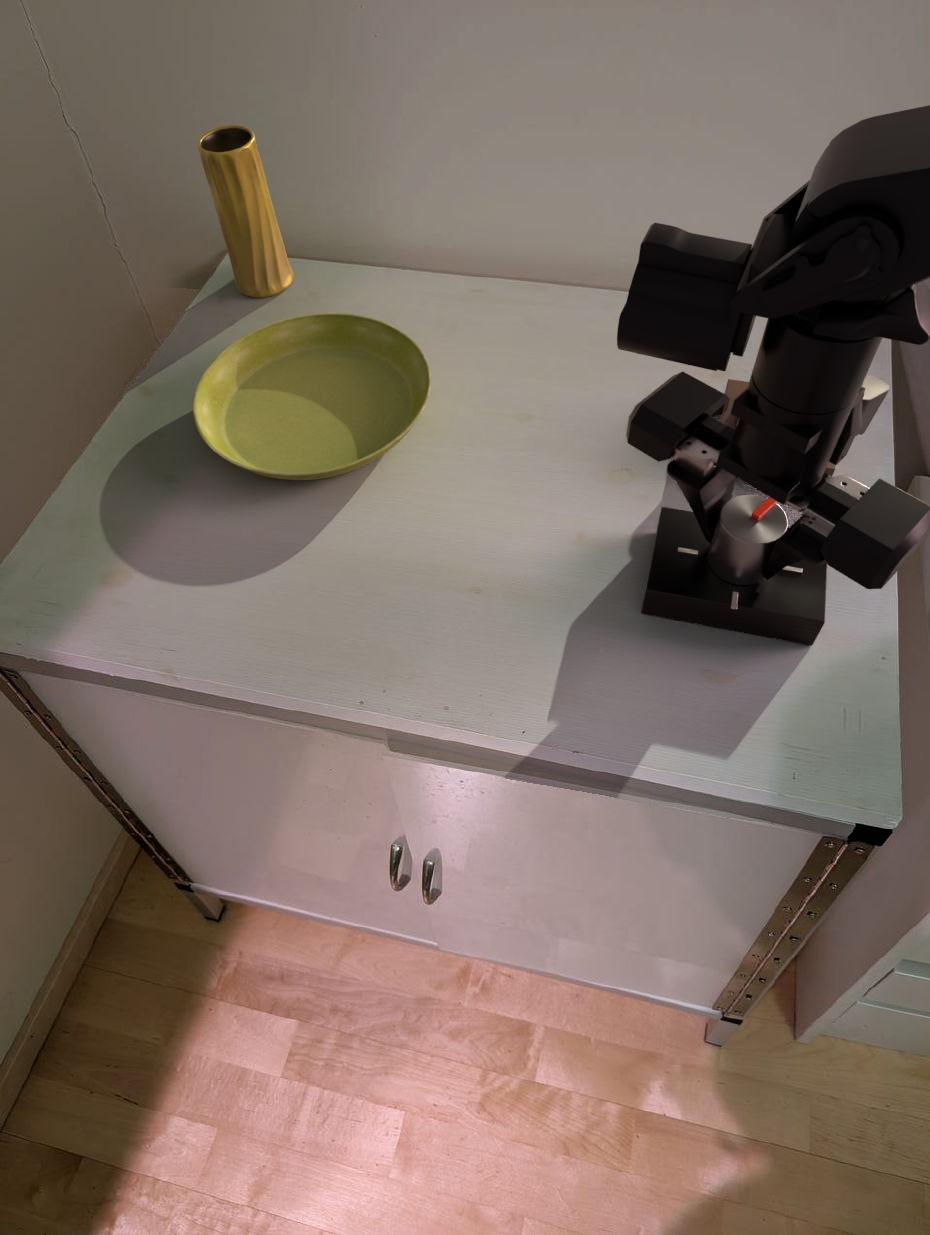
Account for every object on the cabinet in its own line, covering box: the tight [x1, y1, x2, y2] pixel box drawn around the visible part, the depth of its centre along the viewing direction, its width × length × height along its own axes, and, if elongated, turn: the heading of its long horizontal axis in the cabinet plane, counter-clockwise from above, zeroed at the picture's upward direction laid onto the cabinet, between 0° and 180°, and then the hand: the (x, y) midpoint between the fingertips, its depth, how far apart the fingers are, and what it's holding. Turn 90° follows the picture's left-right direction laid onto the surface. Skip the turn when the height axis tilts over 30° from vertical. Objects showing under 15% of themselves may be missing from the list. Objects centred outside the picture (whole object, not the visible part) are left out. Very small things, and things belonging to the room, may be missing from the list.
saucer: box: [192, 312, 432, 481], centre depth 73 cm, size 21×21×3 cm
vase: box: [196, 124, 295, 298], centre depth 81 cm, size 6×6×14 cm
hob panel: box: [640, 506, 828, 647], centre depth 61 cm, size 12×9×3 cm
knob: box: [708, 494, 789, 585], centre depth 57 cm, size 4×4×5 cm
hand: (740, 556), depth 59 cm, fingers closed on knob, 4 cm apart
